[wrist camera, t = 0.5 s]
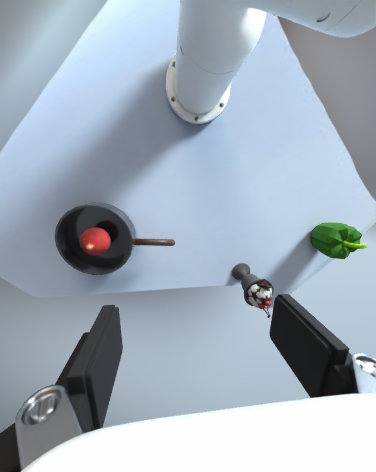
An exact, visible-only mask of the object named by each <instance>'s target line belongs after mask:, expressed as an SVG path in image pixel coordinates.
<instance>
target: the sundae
mask: <svg viewBox="0 0 376 472" xmlns="http://www.w3.org/2000/svg"><path fill="white" fill-rule="evenodd" d="M232 275H233V277H234V278H235V279H237V280H241V284H242V288H243V290H244V298H245V301H246V302H247V303H248V304H249V305H251V306H256V307H259V308H260V309H263V310H264V311H265V309H264V308H265V305H266V306H267V310H268V306H270V305H271V303H270V301H271V299H272V294H273V291H274V288H273V286H272V284H271V283H270V282H268V281H267V280H265V279H259V278H258V277H257V276H255V275H253V274H250V268H249V266H248V265H247V264H244V263H242V264H238V265H236V266H235V267H234V269H233V271H232ZM265 312H266V311H265ZM266 313H267V312H266ZM269 317H270V315H268V318H269Z"/></svg>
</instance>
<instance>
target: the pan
mask: <svg viewBox="0 0 376 472" xmlns="http://www.w3.org/2000/svg"><path fill="white" fill-rule="evenodd" d="M93 227H99V228H102V229H104V230H105V231H106V232H108V234H109V236H110V238H111V244H110V247H109V248H108V250H107V251H106V252H104V253H102V254H100V255H90V254H88V253H86V252H85V251H84V250H83V249H82V248H81V247H80V242H79V241H80V237H81V235H82V234H83V233H84V232H85V231H86V230H87V229H90V228H93ZM133 239H136V233H135V229H134V226H133V224H132V222H131V220H130V219H129V217H128V216H127V215H126V214H125V213H124V212H123V211H121V210H120V209H118V208H117V207H115V206H112V205H110V204H106V203H90V204H85V205H82V206H78V207H76V208H74V209H72V210H70V211H68V212H67V213H66V214H65V215H64V216H63V217H62V218H61V219H60V221H59V223H58V225H57V227H56V232H55V241H56V246H57V249H58V251H59V253H60V255H61V256H62V257H63V259H64V260H65V261H66V262H67V263H68V264H69V265H71V266H72V267H73V268H75V269H77V270H79V271H81V272H83V273H88V274H92V275H103V274H107V273H112V272H114V271H116V270H117V269H119V268H121V267H122V266H123V265H124V264H125V263H126V262H127V260H128V258H129V257H130V255H131V253H132V251H133V249H134V245H133Z"/></svg>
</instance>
